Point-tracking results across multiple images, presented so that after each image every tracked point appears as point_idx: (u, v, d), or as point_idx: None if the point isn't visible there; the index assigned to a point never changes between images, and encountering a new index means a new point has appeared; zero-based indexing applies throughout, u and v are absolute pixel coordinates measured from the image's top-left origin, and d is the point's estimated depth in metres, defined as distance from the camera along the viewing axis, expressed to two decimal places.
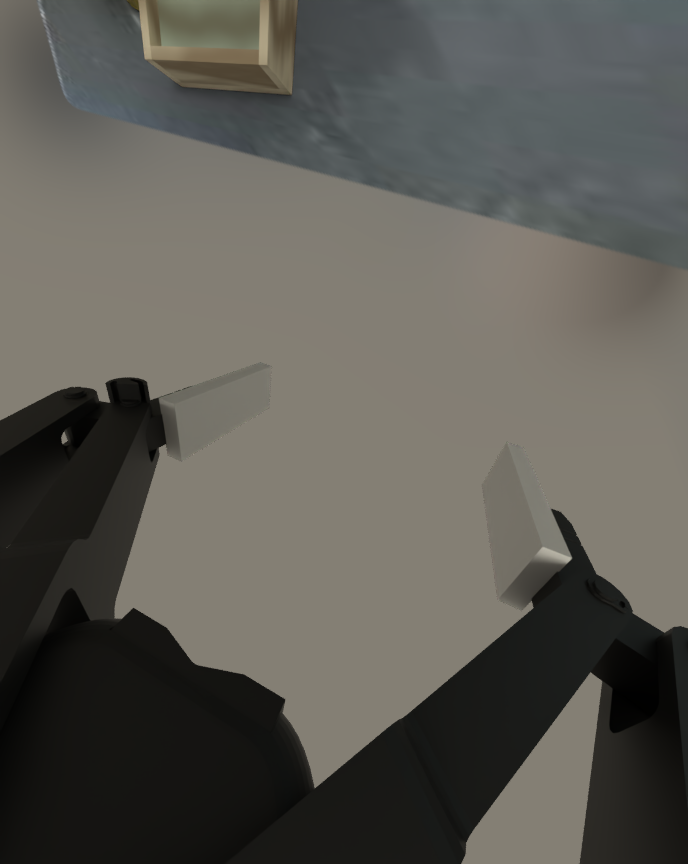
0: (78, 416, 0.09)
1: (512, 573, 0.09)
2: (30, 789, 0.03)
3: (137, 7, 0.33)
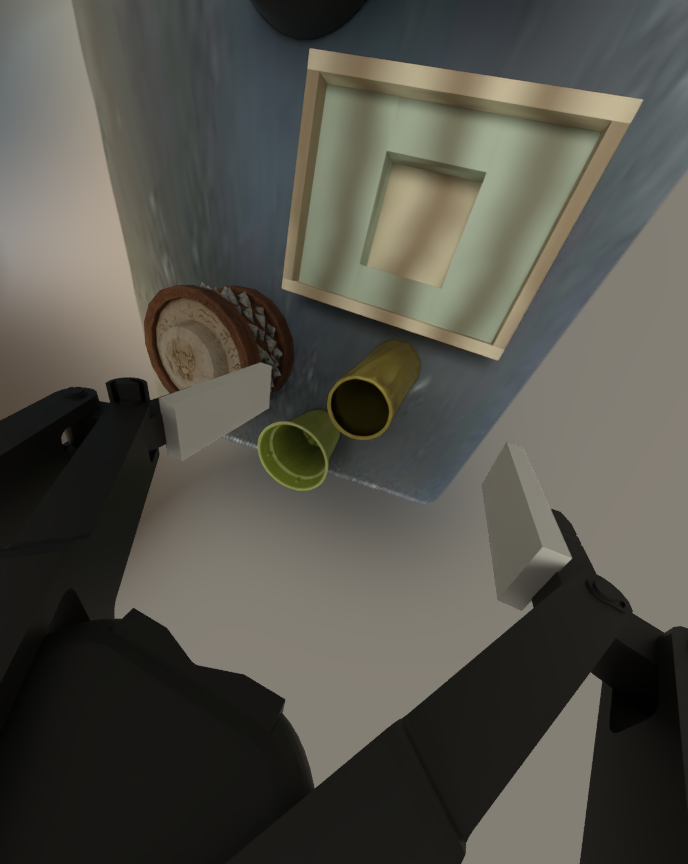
0: (78, 416, 0.09)
1: (512, 573, 0.09)
2: (30, 788, 0.03)
3: (416, 378, 0.32)
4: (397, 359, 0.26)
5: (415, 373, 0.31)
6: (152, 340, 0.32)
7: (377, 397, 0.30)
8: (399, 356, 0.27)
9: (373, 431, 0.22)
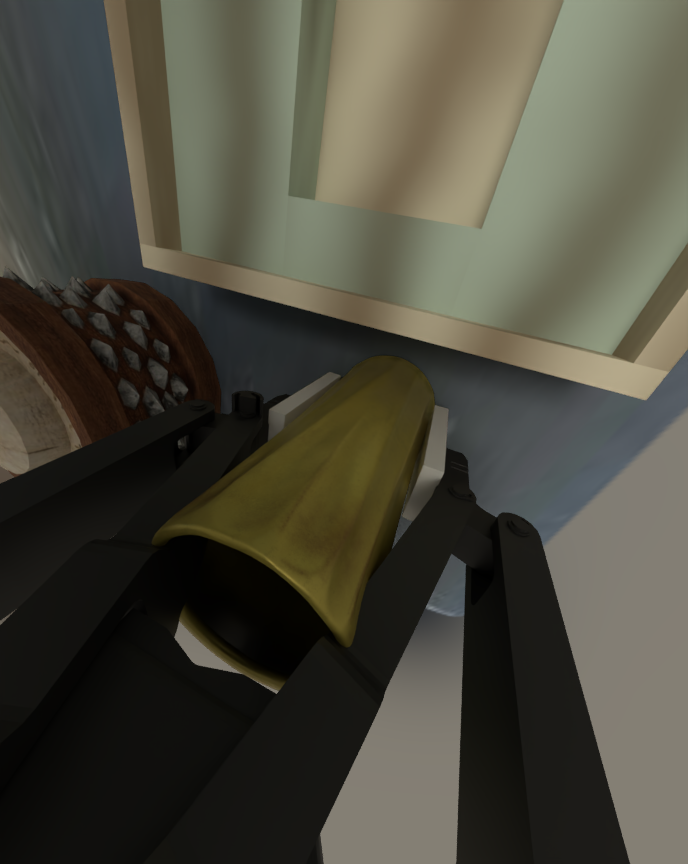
0: (193, 428, 0.10)
1: (410, 493, 0.11)
2: (30, 788, 0.03)
3: None
4: (384, 405, 0.11)
5: (426, 417, 0.16)
6: None
7: None
8: (390, 393, 0.12)
9: (313, 644, 0.07)
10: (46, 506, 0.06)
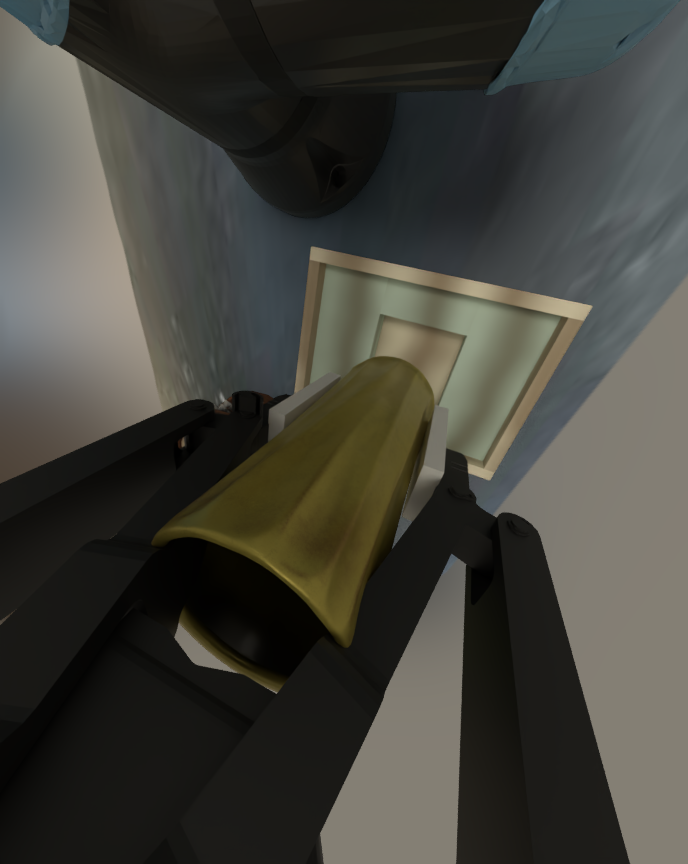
0: (193, 428, 0.10)
1: (410, 493, 0.11)
2: (30, 788, 0.03)
3: None
4: (384, 406, 0.11)
5: (426, 418, 0.16)
6: None
7: None
8: (390, 394, 0.12)
9: (313, 645, 0.07)
10: (46, 506, 0.06)
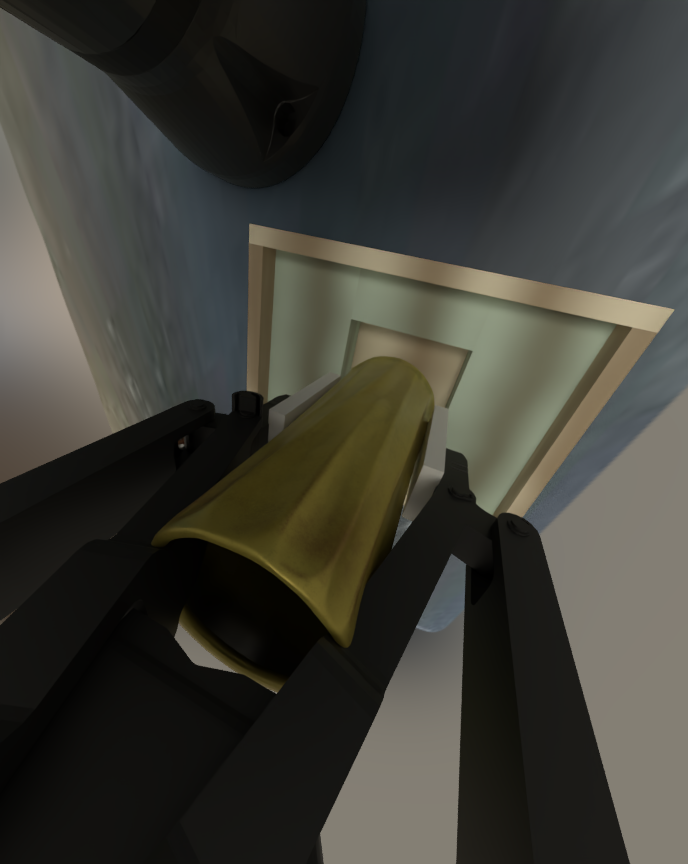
0: (193, 428, 0.10)
1: (410, 493, 0.11)
2: (30, 788, 0.03)
3: None
4: (383, 406, 0.11)
5: (426, 418, 0.16)
6: None
7: None
8: (389, 395, 0.12)
9: None
10: (46, 506, 0.06)
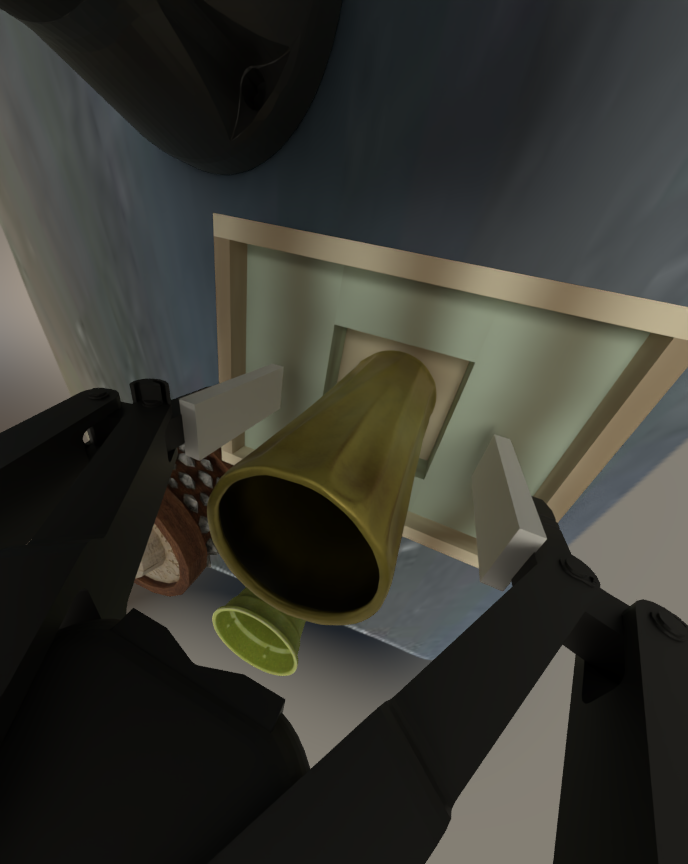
0: (100, 417, 0.10)
1: (493, 555, 0.09)
2: (29, 789, 0.03)
3: (430, 414, 0.18)
4: (395, 390, 0.12)
5: (429, 407, 0.17)
6: None
7: None
8: (399, 381, 0.14)
9: (342, 587, 0.09)
10: None
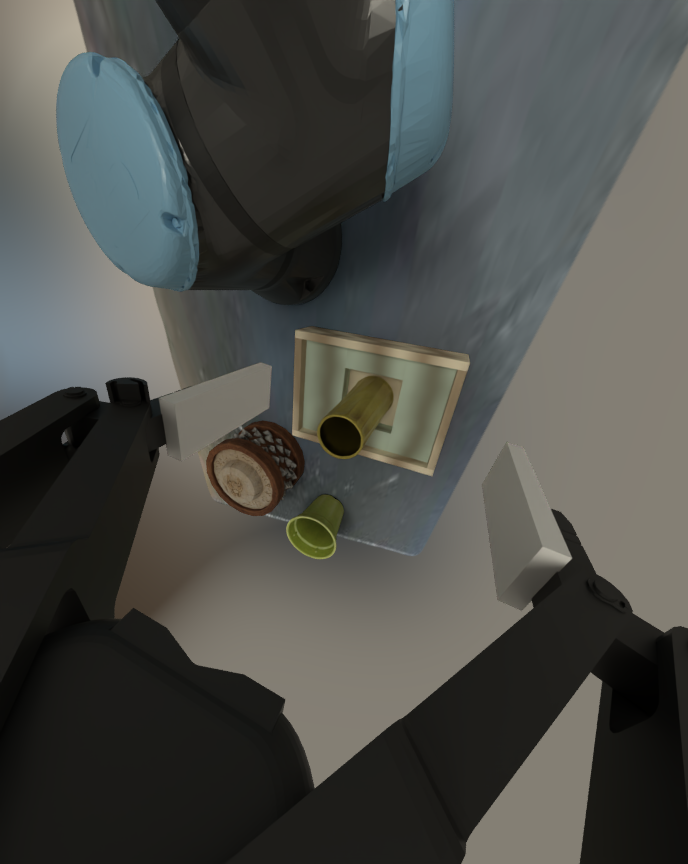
0: (78, 416, 0.09)
1: (512, 573, 0.09)
2: (30, 788, 0.03)
3: (391, 403, 0.40)
4: (369, 394, 0.34)
5: (389, 400, 0.39)
6: (211, 470, 0.48)
7: None
8: (371, 390, 0.35)
9: (353, 451, 0.30)
10: None
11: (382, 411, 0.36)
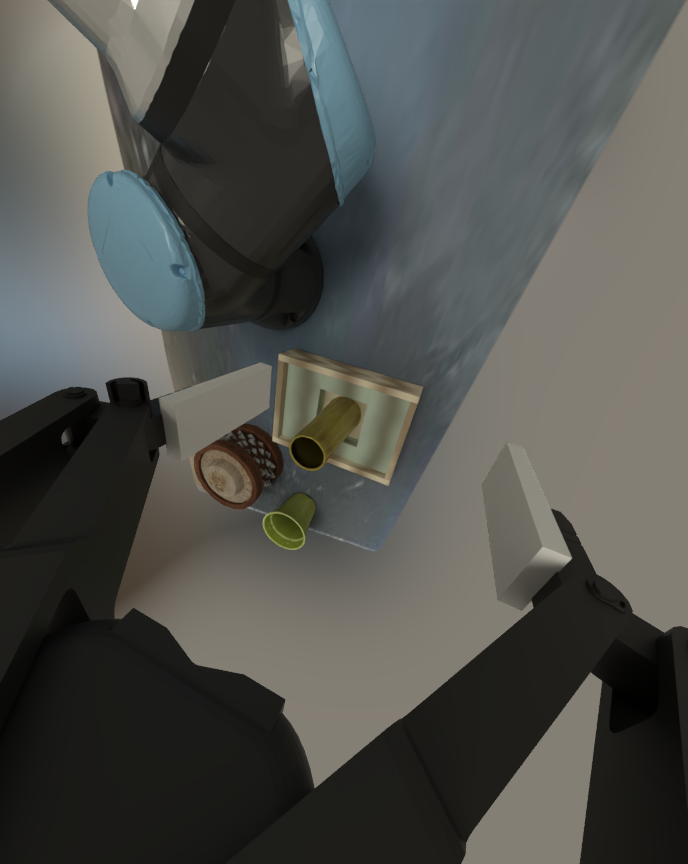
0: (78, 416, 0.09)
1: (512, 573, 0.09)
2: (30, 788, 0.03)
3: (359, 421, 0.46)
4: (337, 415, 0.40)
5: (356, 418, 0.45)
6: (198, 466, 0.54)
7: None
8: (340, 411, 0.42)
9: (318, 464, 0.37)
10: None
11: (348, 429, 0.42)
